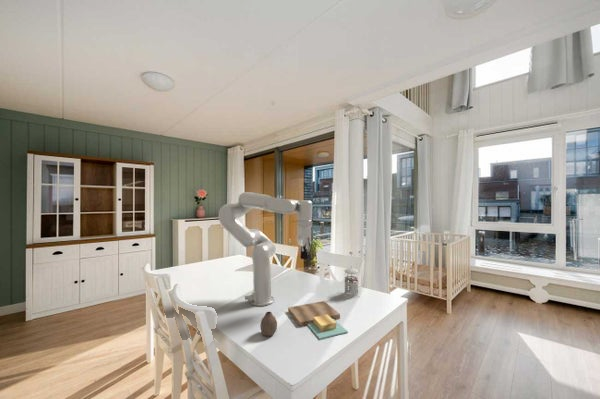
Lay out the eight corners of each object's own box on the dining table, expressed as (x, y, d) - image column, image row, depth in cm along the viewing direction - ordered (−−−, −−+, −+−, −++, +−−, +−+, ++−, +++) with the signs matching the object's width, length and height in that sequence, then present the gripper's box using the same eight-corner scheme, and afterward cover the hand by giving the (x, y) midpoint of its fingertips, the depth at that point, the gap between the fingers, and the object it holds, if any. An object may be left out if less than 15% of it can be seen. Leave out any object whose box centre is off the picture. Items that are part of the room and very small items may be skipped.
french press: (347, 298, 137) (347, 254, 137) (338, 291, 148) (338, 249, 148) (363, 296, 140) (363, 252, 140) (353, 289, 151) (353, 248, 151)
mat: (319, 339, 98) (319, 338, 98) (307, 325, 109) (307, 324, 109) (347, 332, 103) (347, 331, 103) (333, 319, 114) (333, 318, 114)
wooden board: (300, 326, 108) (300, 322, 108) (288, 311, 122) (288, 307, 122) (340, 318, 115) (339, 314, 115) (324, 304, 130) (324, 301, 130)
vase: (261, 329, 106) (260, 309, 106) (277, 329, 106) (277, 308, 106) (259, 339, 99) (259, 317, 99) (277, 338, 99) (276, 316, 99)
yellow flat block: (321, 331, 102) (321, 325, 102) (313, 322, 110) (313, 317, 110) (336, 328, 105) (336, 322, 105) (327, 319, 112) (327, 314, 112)
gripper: (293, 222, 135) (292, 255, 136) (302, 225, 121) (301, 262, 121) (306, 222, 138) (305, 254, 138) (316, 225, 124) (315, 261, 124)
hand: (303, 258), depth 130 cm, fingers closed
